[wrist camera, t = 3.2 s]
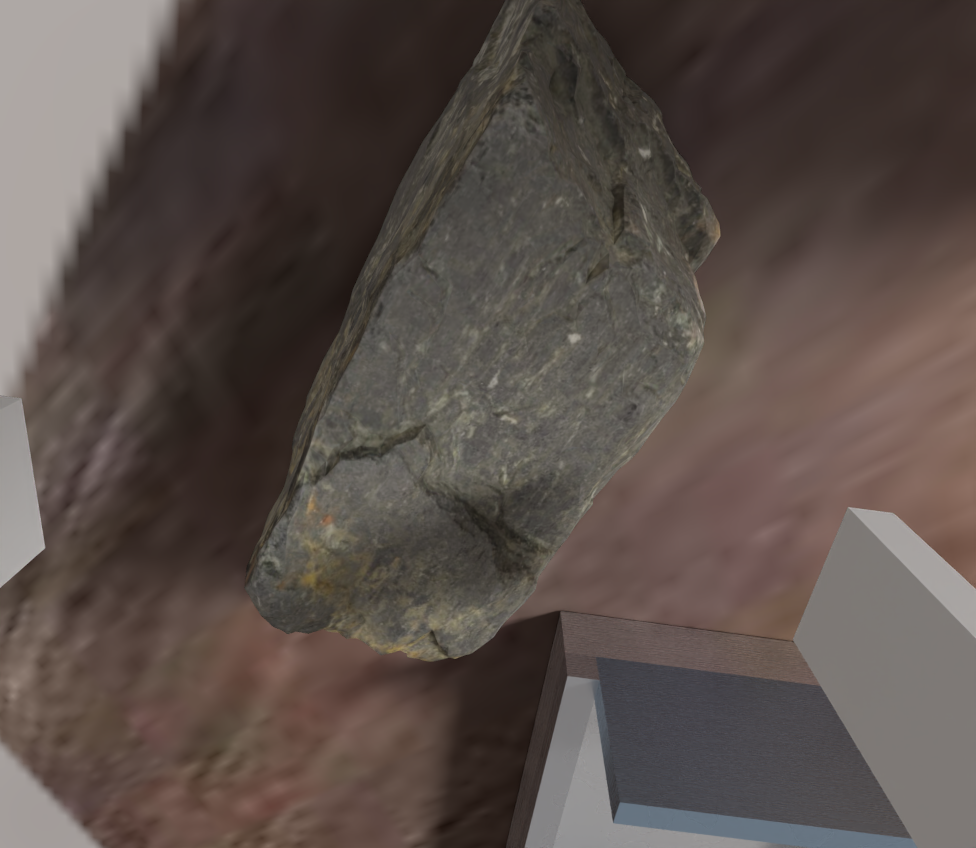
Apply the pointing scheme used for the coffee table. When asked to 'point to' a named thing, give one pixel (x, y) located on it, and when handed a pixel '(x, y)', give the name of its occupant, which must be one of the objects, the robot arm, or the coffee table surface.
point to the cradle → (691, 747)
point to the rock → (492, 350)
